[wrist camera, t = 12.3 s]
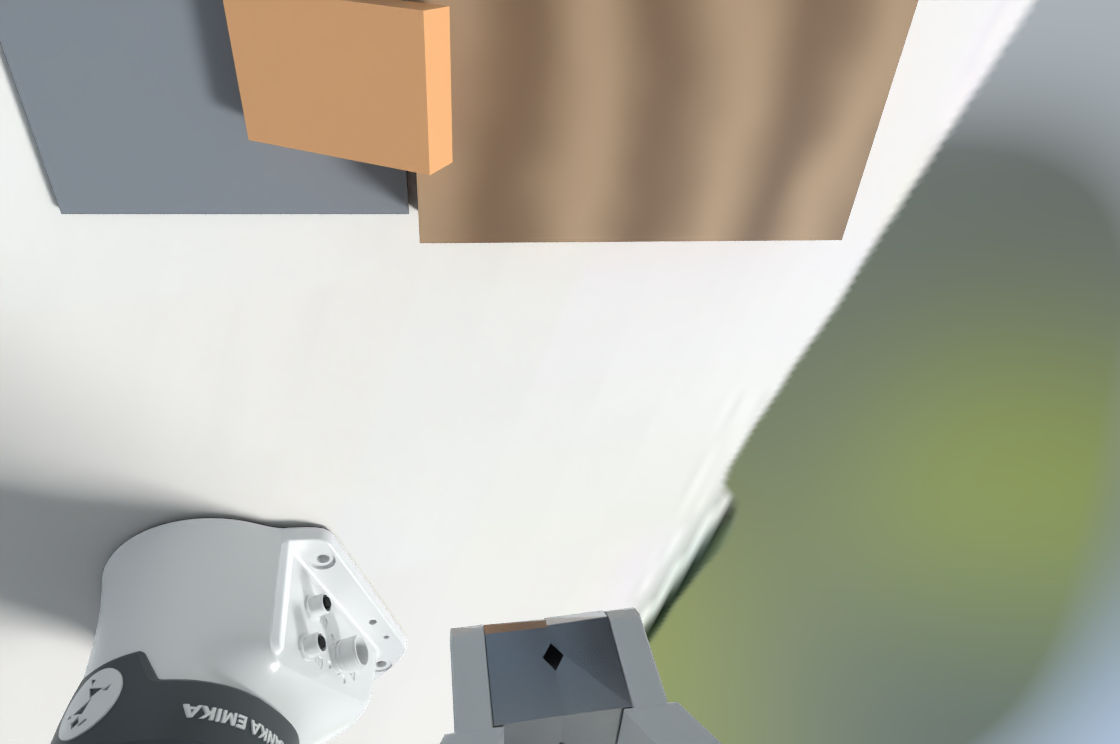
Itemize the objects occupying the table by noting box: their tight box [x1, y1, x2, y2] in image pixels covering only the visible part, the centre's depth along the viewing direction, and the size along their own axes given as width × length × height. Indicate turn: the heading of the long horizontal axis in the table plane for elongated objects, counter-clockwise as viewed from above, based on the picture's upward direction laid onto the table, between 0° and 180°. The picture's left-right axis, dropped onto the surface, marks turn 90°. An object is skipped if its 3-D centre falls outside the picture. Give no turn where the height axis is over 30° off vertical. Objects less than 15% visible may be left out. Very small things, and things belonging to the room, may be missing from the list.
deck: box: [408, 0, 918, 243], centre depth 32 cm, size 22×14×4 cm, turn 85°
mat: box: [0, 0, 409, 214], centre depth 30 cm, size 16×14×1 cm
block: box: [223, 0, 453, 175], centre depth 28 cm, size 9×6×2 cm
